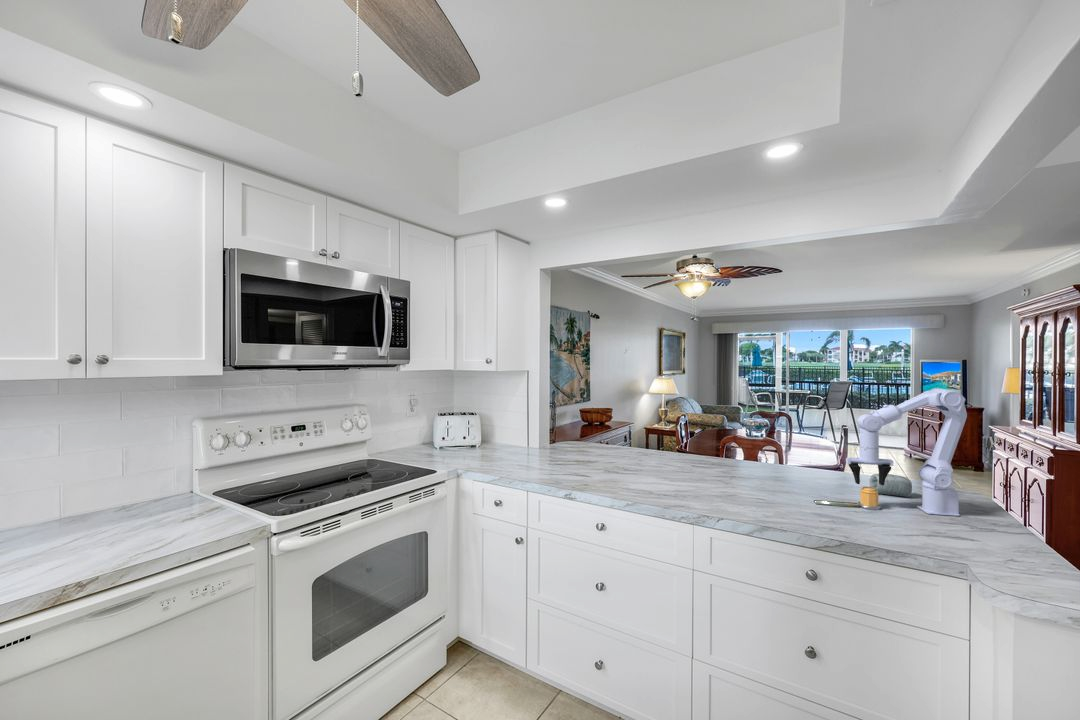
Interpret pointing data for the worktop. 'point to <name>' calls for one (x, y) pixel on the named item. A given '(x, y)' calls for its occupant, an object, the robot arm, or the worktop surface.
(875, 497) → the wire nut
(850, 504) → the rod
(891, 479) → the grey rounded block
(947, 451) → the robot arm
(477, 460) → the worktop surface
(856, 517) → the worktop surface
